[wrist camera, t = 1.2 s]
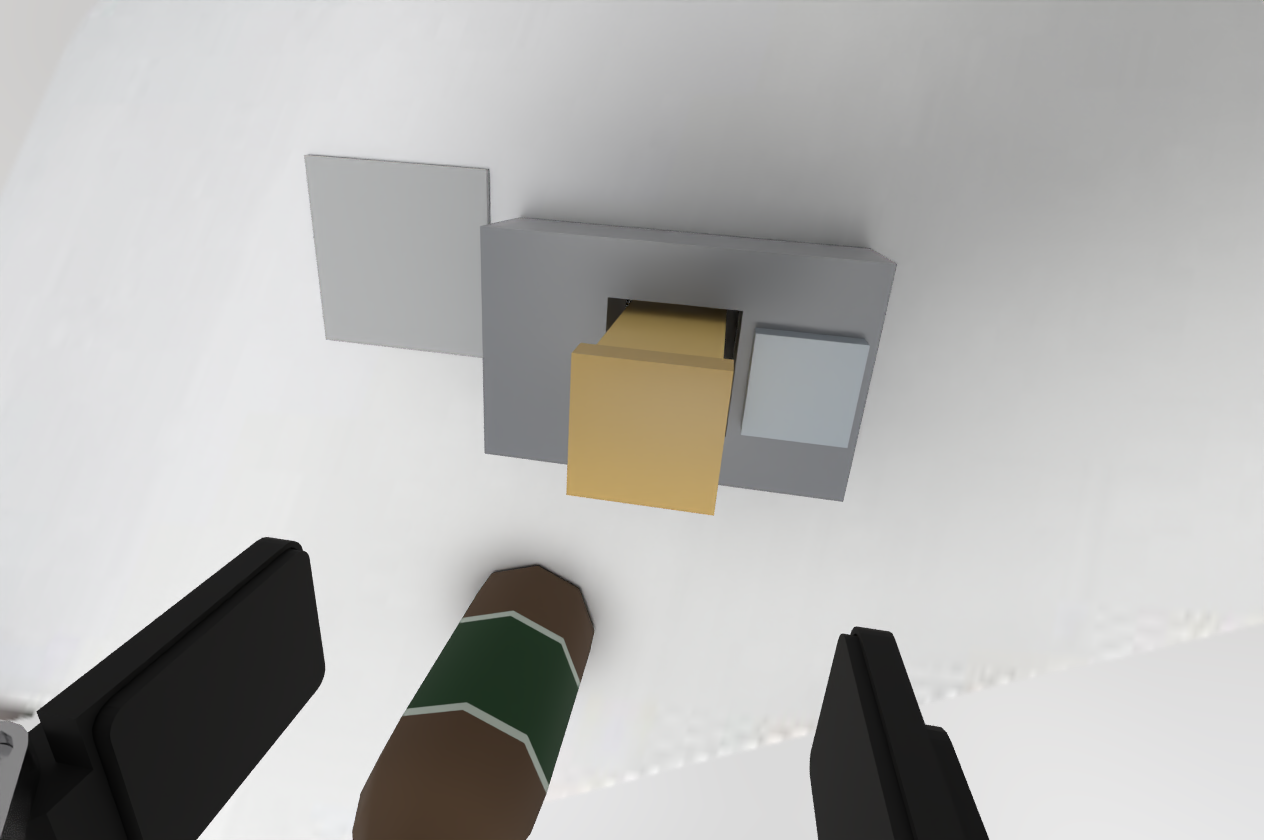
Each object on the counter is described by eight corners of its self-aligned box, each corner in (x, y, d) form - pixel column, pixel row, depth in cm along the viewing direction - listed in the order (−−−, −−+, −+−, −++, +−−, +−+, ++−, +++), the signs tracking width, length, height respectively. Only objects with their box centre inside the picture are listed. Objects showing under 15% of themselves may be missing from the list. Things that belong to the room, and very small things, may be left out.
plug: (734, 294, 29) (733, 371, 18) (722, 391, 31) (713, 515, 20) (633, 284, 30) (571, 353, 19) (626, 380, 32) (566, 494, 20)
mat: (488, 169, 29) (486, 169, 29) (491, 356, 32) (489, 358, 32) (307, 154, 30) (304, 154, 30) (329, 338, 33) (325, 339, 33)
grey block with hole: (870, 248, 28) (903, 267, 22) (827, 453, 31) (846, 513, 26) (519, 217, 29) (470, 228, 24) (519, 414, 33) (476, 462, 28)
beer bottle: (472, 651, 40) (147, 1242, 18) (474, 549, 37) (86, 1107, 15) (591, 675, 39) (404, 1326, 17) (603, 573, 36) (396, 1200, 14)
